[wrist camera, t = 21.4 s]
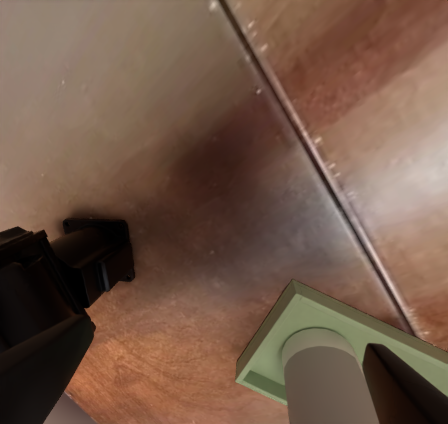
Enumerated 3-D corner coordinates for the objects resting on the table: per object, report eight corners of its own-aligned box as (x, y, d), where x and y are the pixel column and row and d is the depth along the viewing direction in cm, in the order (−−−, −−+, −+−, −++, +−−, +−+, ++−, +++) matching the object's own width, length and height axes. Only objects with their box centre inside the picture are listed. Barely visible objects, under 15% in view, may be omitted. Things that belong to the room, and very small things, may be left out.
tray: (236, 362, 25) (234, 381, 23) (292, 278, 21) (296, 293, 19) (474, 474, 25) (493, 503, 23) (574, 412, 21) (608, 440, 19)
